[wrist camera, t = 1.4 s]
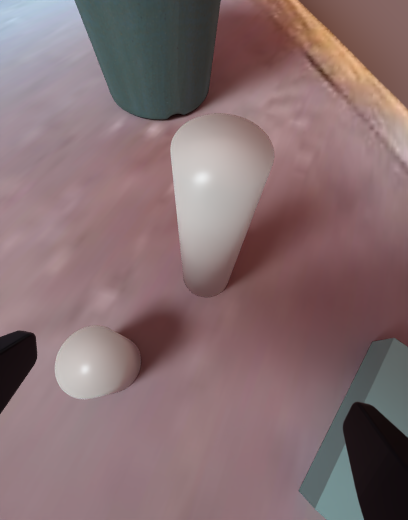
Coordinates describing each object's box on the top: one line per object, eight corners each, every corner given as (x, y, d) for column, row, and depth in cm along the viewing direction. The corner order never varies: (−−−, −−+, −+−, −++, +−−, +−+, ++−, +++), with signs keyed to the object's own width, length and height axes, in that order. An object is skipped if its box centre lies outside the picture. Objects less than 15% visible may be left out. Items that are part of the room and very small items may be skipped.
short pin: (113, 405, 19) (87, 416, 14) (75, 368, 20) (39, 366, 15) (151, 359, 20) (139, 354, 15) (115, 325, 21) (93, 312, 16)
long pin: (210, 306, 22) (234, 211, 9) (173, 278, 23) (148, 153, 10) (237, 272, 23) (293, 145, 10) (202, 246, 24) (213, 100, 11)
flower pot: (70, 72, 33) (-28, -169, 18) (180, 36, 37) (172, -185, 23) (131, 155, 28) (63, -87, 13) (251, 102, 32) (300, -127, 17)
